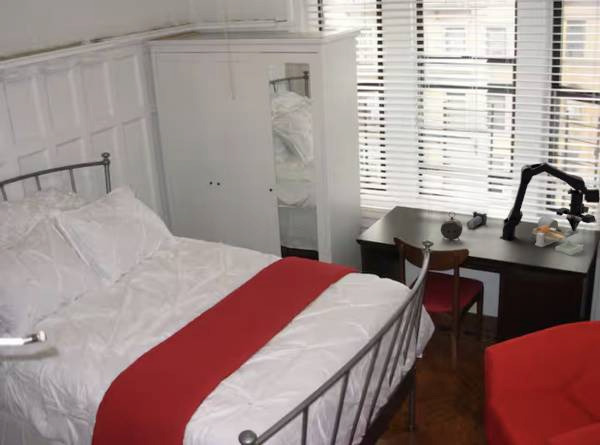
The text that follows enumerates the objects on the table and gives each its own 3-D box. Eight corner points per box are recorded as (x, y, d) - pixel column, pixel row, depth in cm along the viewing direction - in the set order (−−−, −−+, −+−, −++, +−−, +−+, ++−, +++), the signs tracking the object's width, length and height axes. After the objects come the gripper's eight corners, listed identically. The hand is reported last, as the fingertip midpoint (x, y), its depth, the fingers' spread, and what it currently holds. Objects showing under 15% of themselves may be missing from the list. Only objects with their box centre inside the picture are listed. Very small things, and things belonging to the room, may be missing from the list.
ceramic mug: (549, 234, 369) (551, 220, 366) (536, 230, 375) (538, 216, 373) (562, 230, 375) (563, 216, 372) (549, 226, 381) (550, 212, 378)
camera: (475, 224, 393) (464, 231, 385) (472, 211, 391) (462, 218, 383) (489, 224, 387) (479, 231, 379) (487, 211, 385) (476, 218, 377)
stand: (541, 247, 353) (542, 235, 351) (535, 245, 357) (535, 233, 354) (556, 241, 360) (557, 229, 358) (549, 239, 363) (550, 227, 361)
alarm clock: (462, 239, 368) (463, 210, 363) (461, 243, 364) (462, 214, 358) (441, 238, 372) (442, 209, 366) (439, 241, 367) (440, 212, 362)
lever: (557, 246, 349) (557, 237, 347) (531, 238, 360) (532, 229, 359) (577, 237, 358) (578, 228, 357) (552, 230, 370) (553, 221, 368)
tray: (571, 255, 342) (571, 250, 341) (555, 250, 349) (555, 244, 348) (583, 250, 347) (583, 244, 346) (567, 245, 354) (567, 239, 353)
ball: (545, 234, 355) (546, 227, 353) (539, 232, 358) (539, 225, 356) (550, 232, 357) (551, 225, 355) (543, 230, 360) (544, 223, 358)
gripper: (602, 202, 349) (599, 231, 355) (569, 194, 364) (567, 222, 369) (589, 207, 343) (587, 237, 349) (556, 199, 358) (554, 227, 363)
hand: (574, 230), depth 357 cm, fingers closed, pressing on lever
